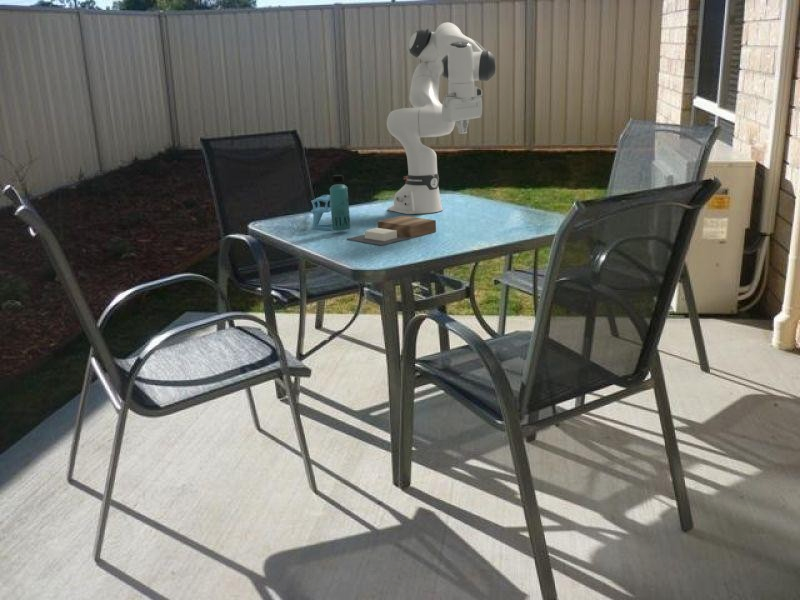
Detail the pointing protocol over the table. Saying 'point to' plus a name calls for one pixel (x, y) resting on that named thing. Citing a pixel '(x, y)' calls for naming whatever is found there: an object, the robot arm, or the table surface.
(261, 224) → the table surface
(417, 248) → the table surface
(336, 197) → the beverage bottle
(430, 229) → the block
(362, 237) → the charcoal mat
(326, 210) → the chair
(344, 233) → the table surface
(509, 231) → the table surface
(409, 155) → the robot arm
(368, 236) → the cream tile
